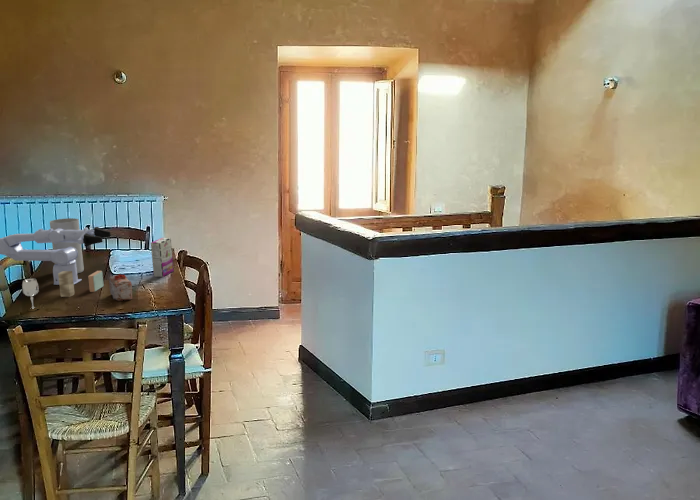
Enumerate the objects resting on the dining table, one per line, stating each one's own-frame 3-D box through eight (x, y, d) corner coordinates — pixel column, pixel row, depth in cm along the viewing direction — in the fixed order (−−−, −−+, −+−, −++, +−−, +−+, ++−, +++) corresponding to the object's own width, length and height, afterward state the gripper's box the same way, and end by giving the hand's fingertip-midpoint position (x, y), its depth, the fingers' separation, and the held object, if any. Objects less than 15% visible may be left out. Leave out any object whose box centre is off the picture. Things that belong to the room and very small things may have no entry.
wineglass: (28, 308, 260) (24, 278, 258) (43, 307, 261) (40, 277, 258) (22, 312, 255) (18, 282, 252) (38, 311, 255) (34, 281, 253)
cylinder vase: (77, 275, 310) (71, 222, 304) (50, 275, 310) (44, 223, 305) (88, 268, 322) (82, 218, 317) (62, 269, 322) (57, 218, 317)
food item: (135, 300, 269) (133, 276, 267) (115, 303, 265) (113, 279, 263) (126, 292, 280) (124, 269, 278) (106, 295, 276) (104, 272, 274)
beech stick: (60, 296, 275) (58, 273, 273) (65, 294, 279) (62, 271, 277) (70, 296, 275) (67, 273, 273) (74, 294, 279) (72, 271, 277)
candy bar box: (164, 271, 315) (161, 237, 312) (174, 271, 314) (171, 237, 311) (152, 277, 304) (150, 242, 301) (162, 277, 303) (160, 242, 300)
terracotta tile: (89, 291, 282) (88, 276, 280) (98, 286, 291) (97, 270, 289) (95, 291, 282) (93, 276, 280) (103, 286, 291) (102, 270, 289)
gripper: (66, 232, 284) (96, 233, 282) (83, 222, 297) (112, 223, 295) (69, 248, 286) (99, 249, 284) (86, 237, 299) (114, 238, 298)
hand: (106, 236), depth 290 cm, fingers open, 7 cm apart
